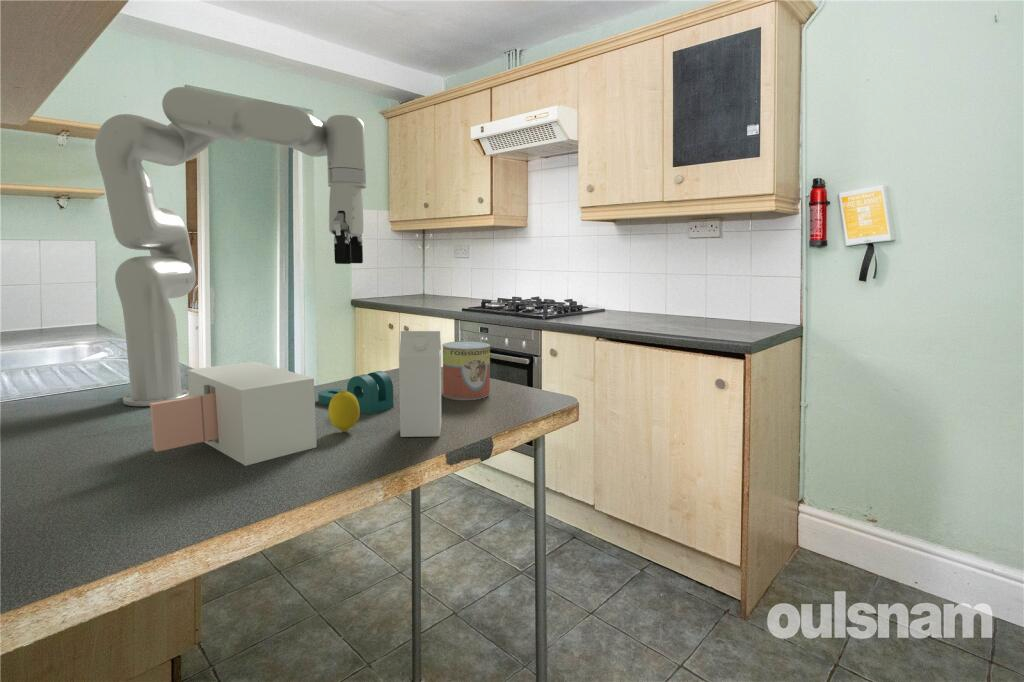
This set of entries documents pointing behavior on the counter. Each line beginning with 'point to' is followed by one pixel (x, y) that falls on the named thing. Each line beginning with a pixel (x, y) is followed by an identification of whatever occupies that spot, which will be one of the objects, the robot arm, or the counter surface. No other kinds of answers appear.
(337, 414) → the lemon
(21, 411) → the counter surface
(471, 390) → the canned food
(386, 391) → the bracket
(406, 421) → the milk carton
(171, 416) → the strip
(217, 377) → the ticket dispenser
